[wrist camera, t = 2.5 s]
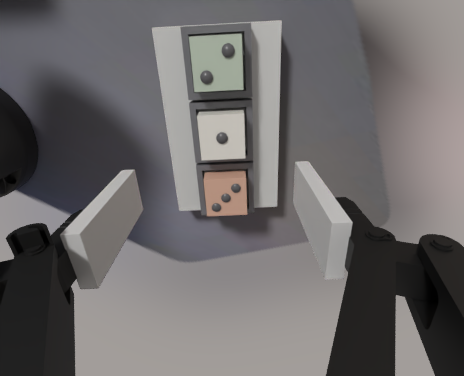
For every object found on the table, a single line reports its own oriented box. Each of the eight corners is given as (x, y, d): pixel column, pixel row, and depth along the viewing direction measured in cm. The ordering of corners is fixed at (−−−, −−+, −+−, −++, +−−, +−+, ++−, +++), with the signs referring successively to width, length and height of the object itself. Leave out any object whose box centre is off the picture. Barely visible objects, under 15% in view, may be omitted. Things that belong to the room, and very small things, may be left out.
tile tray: (183, 199, 37) (177, 217, 33) (159, 30, 28) (147, 26, 24) (273, 195, 37) (279, 213, 32) (276, 23, 28) (284, 18, 24)
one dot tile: (203, 154, 30) (201, 160, 28) (199, 111, 28) (196, 116, 26) (244, 152, 29) (245, 158, 28) (243, 109, 28) (244, 113, 26)
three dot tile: (208, 207, 32) (207, 217, 30) (205, 172, 30) (203, 180, 29) (246, 205, 32) (247, 215, 30) (245, 170, 30) (246, 178, 28)
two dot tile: (197, 89, 27) (194, 92, 25) (191, 38, 25) (188, 36, 23) (242, 87, 27) (243, 89, 25) (241, 35, 25) (241, 33, 23)
